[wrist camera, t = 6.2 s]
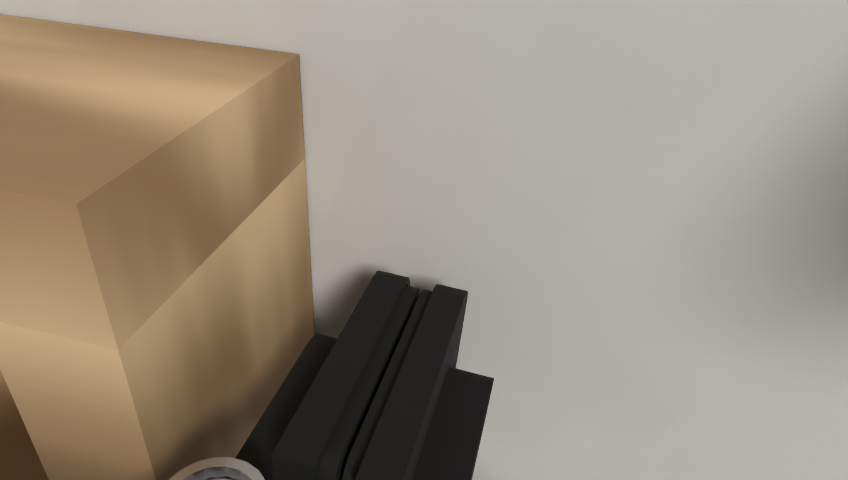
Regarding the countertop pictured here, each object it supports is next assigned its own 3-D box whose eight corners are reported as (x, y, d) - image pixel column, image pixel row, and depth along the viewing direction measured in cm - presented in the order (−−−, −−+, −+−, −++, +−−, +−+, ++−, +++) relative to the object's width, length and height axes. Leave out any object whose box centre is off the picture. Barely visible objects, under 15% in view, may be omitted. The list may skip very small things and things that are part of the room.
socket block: (320, 434, 15) (208, 662, 11) (-3, 354, 16) (-208, 525, 12) (298, 53, 10) (76, 203, 6) (-160, -8, 11) (-593, 76, 7)
